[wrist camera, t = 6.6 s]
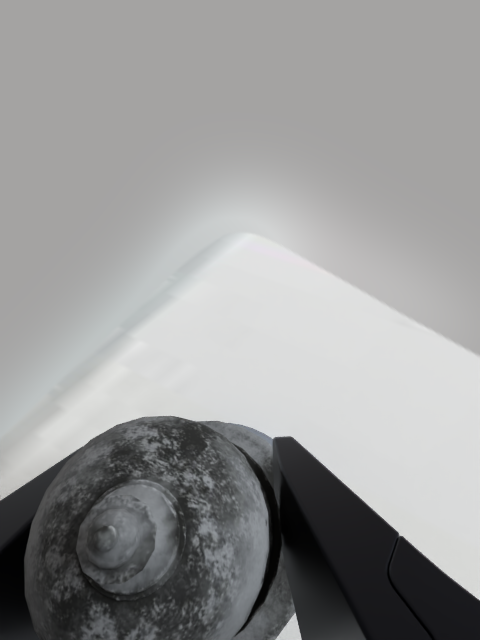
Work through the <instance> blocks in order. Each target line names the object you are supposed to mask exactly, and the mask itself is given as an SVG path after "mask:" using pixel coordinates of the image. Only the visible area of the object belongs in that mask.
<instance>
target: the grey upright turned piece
mask: <svg viewBox="0 0 480 640" xmlns="http://www.w3.org/2000/svg"><path fill="white" fill-rule="evenodd" d="M281 547H282V533H281V519H280V511H279V508H278V504H277V501H276V497H275V490H274V480H273V450H272V446H271V445H270V444H269V443H268V442H267V441H266V440H265V439H263V438H261V437H259V436H258V435H256V434H254V433H252V432H250V431H249V430H247V429H245V428H243V427H240V426H236V425H232V424H228V423H224V422H220V421H201V422H196V421H191V420H187V419H183V418H179V417H174V416H158V417H142V418H139V419H136V420H132V421H129V422H125V423H122V424H119V425H116V426H114V427H113V428H111V429H109V430H107V431H106V432H104V433H102V434H100V435H99V436H97V437H95V438H93V439H92V440H90V441H89V442H88V443H87V444H86V445H85V446H84V447H82V448H81V449H80V450H79V451H78V452H77V453H76V454H75V455H74V456H73V457H71V458H70V459H69V460H68V461H67V462H66V463H65V465H64V466H63V468H62V469H61V470H60V472H59V473H58V475H57V476H56V477H55V479H54V480H53V481H52V483H51V484H50V486H49V487H48V488H47V490H46V492H45V494H44V497H43V499H42V501H41V503H40V505H39V508H38V510H37V512H36V514H35V517H34V519H33V521H32V525H31V529H30V534H29V539H28V543H27V548H26V553H25V557H24V572H25V598H26V601H27V605H28V609H29V612H30V616H31V620H32V623H33V627H34V631H35V632H36V634H37V635H38V637H39V639H40V640H275V639H276V638H277V636H278V635H279V634H280V632H281V631H282V630H283V628H284V627H285V625H286V624H287V623H288V621H289V620H290V619H291V617H292V616H293V615H294V613H295V607H294V603H293V599H292V594H291V590H290V586H289V582H288V577H287V573H286V569H285V564H284V560H283V555H282V549H281Z"/></svg>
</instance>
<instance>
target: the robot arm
mask: <svg viewBox="0 0 480 640" xmlns="http://www.w3.org/2000/svg"><path fill="white" fill-rule="evenodd" d="M81 448H82V447H81ZM81 448H80V449H81ZM80 449H78V450H77V451H75V452H74V453H72V454H71V455H69V456H67V457H66V458H64V459H63V460H61V461H60V462H58V463H57V464H55V465H54V466H52V467H51V468H49V469H48V470H46V471H45V472H43V473H42V474H40V475H39V476H37V477H36V478H34V479H33V480H31V481H30V482H28V483H27V484H25V485H24V486H22V487H21V488H19V489H18V490H16V491H15V492H13V493H12V494H10V495H8V496H7V497H5V498H4V499H2V500H1V501H0V640H40V639H39V637H38V635H37V634H36V632H35V631H34V627H33V623H32V620H31V616H30V612H29V609H28V605H27V601H26V598H25V572H24V557H25V553H26V548H27V543H28V539H29V534H30V529H31V525H32V521H33V519H34V517H35V514H36V512H37V510H38V508H39V505H40V503H41V501H42V499H43V497H44V494H45V492H46V490H47V488H48V487H49V486H50V484H51V483H52V481H53V480H54V479H55V477H56V476H57V475H58V473H59V472H60V470H61V469H62V468H63V466H64V465H65V463H66V462H67V461H68V460H69V459H70V458H71V457H73V456H74V455H75V454H76V453H77V452H78V451H79V450H80ZM272 450H273V480H274V490H275V497H276V501H277V504H278V508H279V511H280V519H281V533H282V547H281V549H282V555H283V560H284V564H285V569H286V573H287V577H288V582H289V586H290V590H291V594H292V599H293V603H294V607H295V612H296V616H297V620H298V625H299V629H300V633H301V637H302V640H480V601H479V600H478V599H477V598H476V597H474V596H473V595H472V594H471V593H469V592H468V591H467V590H466V589H464V588H463V587H462V586H460V585H459V584H458V583H457V582H455V581H454V580H453V579H452V578H450V577H449V576H448V575H446V574H445V573H444V572H443V571H442V570H441V569H439V568H438V567H437V566H436V565H435V564H434V563H432V562H431V561H430V560H429V559H428V558H427V557H425V556H424V555H423V554H422V553H421V552H420V551H418V550H417V549H416V548H415V547H414V546H413V545H412V544H411V543H410V542H408V541H407V540H406V539H405V538H404V537H403V536H399V533H398V532H397V531H396V530H395V529H394V528H393V527H392V526H390V525H389V524H388V523H387V522H386V521H385V520H384V519H383V518H382V517H380V516H379V515H378V514H377V513H376V512H375V511H374V510H373V509H372V508H371V507H369V506H368V505H367V504H366V503H365V502H364V501H363V500H362V499H361V498H359V497H358V496H357V495H356V494H355V493H354V492H353V491H352V490H351V489H349V488H348V487H347V486H346V485H345V484H344V483H343V482H342V481H341V480H339V479H338V478H337V477H336V476H335V475H334V474H333V473H332V472H331V471H329V470H328V469H327V468H326V467H325V466H324V465H323V464H322V463H321V462H319V461H318V460H317V459H316V458H315V457H314V456H313V455H312V454H311V453H310V452H308V451H307V450H306V449H305V448H304V447H303V446H302V445H301V444H300V443H298V442H297V441H296V440H295V439H294V438H293V437H290V436H289V437H275V438H273V442H272Z"/></svg>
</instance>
